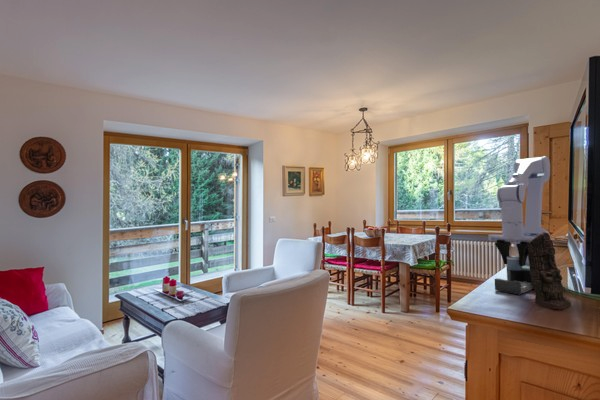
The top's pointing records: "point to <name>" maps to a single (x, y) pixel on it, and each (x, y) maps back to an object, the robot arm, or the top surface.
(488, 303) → the top surface
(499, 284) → the tray
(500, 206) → the robot arm
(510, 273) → the player housing
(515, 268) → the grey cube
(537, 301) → the statue
